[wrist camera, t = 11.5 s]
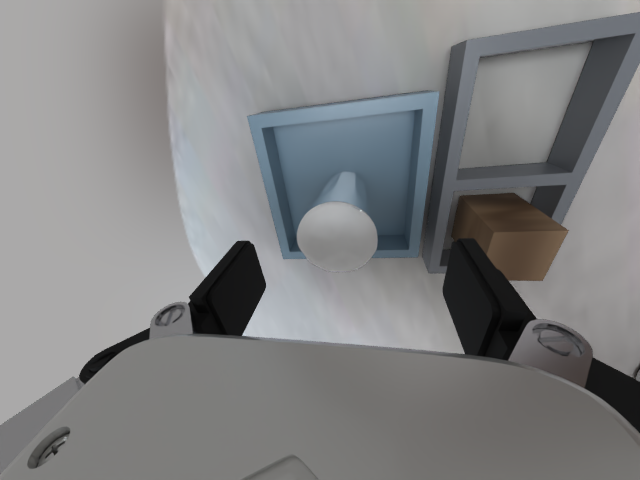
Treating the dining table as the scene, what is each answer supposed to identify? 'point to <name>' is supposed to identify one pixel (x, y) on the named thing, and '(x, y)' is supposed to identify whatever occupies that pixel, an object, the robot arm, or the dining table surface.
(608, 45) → the holder
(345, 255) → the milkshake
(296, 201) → the tray
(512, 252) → the walnut peg
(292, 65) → the dining table surface
